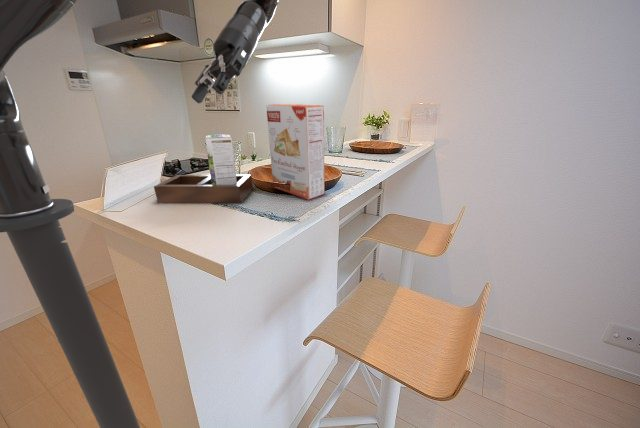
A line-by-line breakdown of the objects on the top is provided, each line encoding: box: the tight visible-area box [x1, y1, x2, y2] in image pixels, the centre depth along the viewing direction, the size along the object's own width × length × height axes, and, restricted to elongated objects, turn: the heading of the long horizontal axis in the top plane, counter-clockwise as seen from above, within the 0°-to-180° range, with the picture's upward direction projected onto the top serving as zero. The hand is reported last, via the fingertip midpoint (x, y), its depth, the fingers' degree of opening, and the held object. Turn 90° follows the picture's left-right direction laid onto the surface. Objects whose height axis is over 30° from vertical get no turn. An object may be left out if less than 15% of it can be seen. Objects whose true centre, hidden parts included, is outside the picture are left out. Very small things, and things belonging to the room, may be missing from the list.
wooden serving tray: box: [153, 174, 254, 204], centre depth 70 cm, size 20×11×4 cm, turn 88°
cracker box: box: [265, 103, 326, 201], centre depth 69 cm, size 14×6×21 cm, turn 45°
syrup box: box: [205, 133, 237, 185], centre depth 68 cm, size 6×6×14 cm
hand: (206, 95), depth 59 cm, fingers open, 8 cm apart
